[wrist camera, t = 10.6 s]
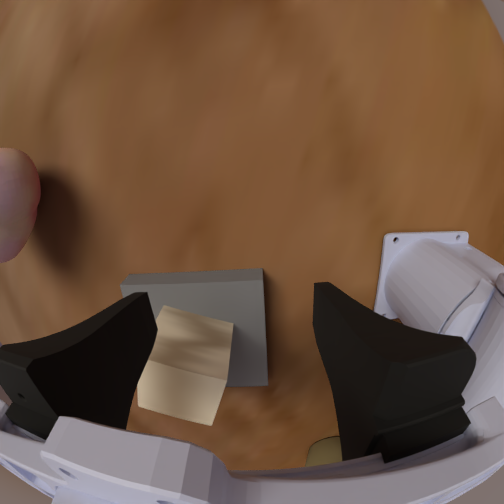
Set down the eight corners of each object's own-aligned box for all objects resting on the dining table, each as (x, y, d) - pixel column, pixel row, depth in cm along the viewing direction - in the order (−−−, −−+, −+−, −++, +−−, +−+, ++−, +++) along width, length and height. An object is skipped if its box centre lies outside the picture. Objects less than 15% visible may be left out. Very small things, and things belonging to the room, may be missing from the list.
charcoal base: (262, 265, 22) (262, 279, 19) (267, 367, 25) (268, 385, 23) (131, 271, 22) (119, 285, 20) (160, 366, 26) (154, 383, 24)
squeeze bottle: (358, 425, 29) (387, 539, 12) (354, 449, 32) (375, 544, 15) (298, 438, 30) (310, 557, 13) (303, 460, 33) (313, 558, 16)
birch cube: (233, 323, 21) (227, 380, 15) (219, 371, 22) (211, 425, 17) (163, 305, 20) (137, 356, 14) (158, 355, 22) (138, 405, 16)
